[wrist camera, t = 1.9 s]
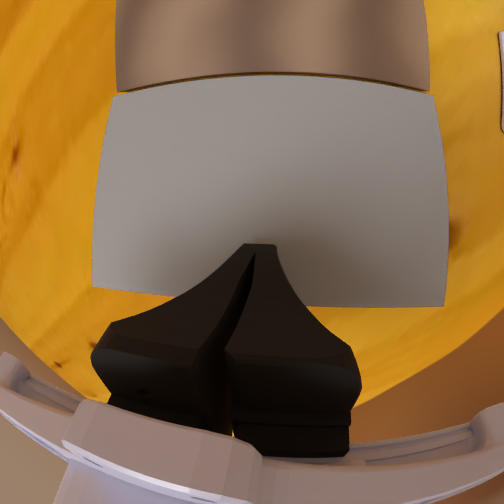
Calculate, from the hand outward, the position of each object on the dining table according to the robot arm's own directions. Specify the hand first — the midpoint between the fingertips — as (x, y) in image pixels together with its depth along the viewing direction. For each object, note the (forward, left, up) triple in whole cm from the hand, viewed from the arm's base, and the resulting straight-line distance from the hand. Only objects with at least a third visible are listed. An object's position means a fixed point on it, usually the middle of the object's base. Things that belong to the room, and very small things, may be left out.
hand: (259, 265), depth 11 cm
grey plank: (0, -2, -3) cm, 4 cm away
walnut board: (0, -13, -7) cm, 14 cm away
